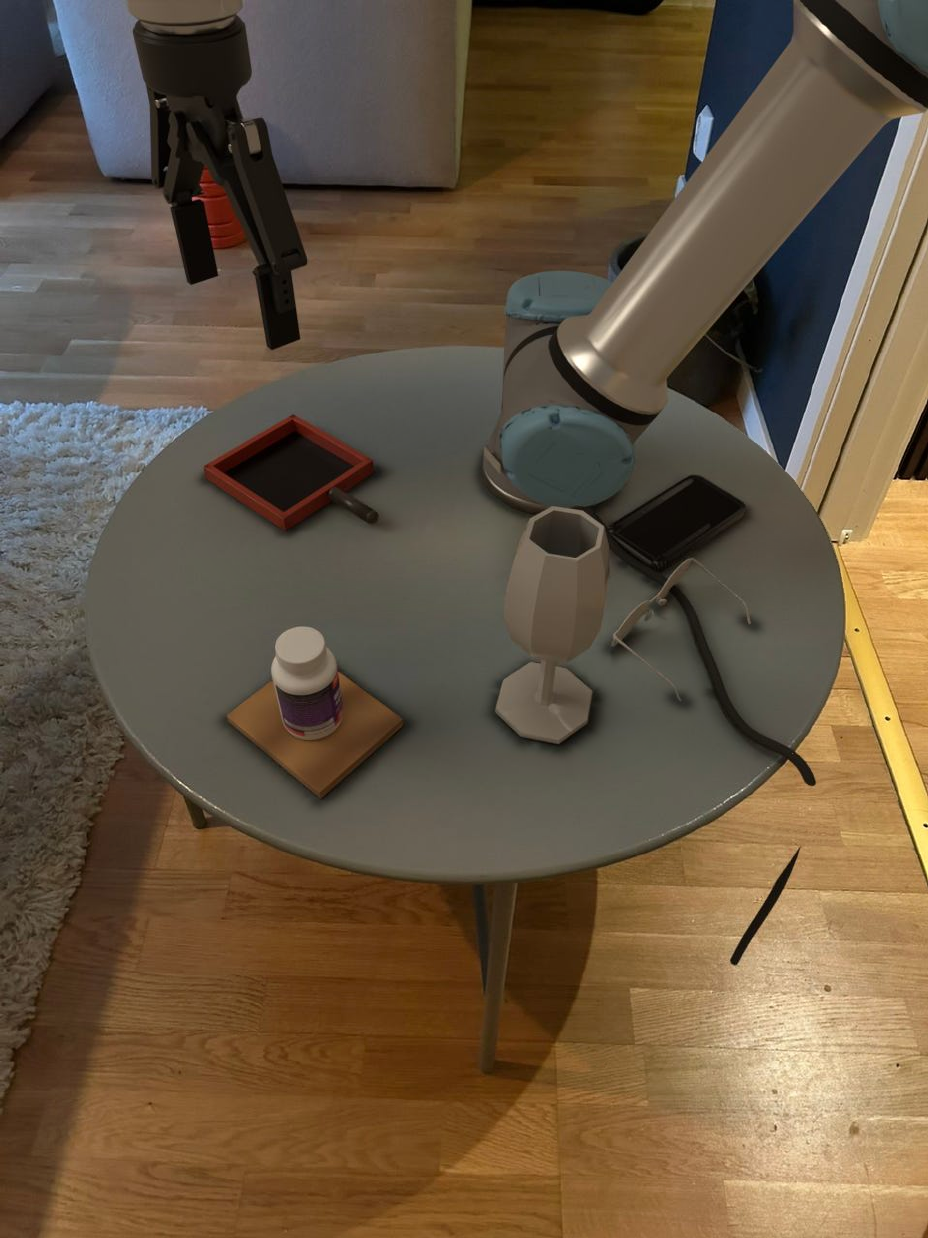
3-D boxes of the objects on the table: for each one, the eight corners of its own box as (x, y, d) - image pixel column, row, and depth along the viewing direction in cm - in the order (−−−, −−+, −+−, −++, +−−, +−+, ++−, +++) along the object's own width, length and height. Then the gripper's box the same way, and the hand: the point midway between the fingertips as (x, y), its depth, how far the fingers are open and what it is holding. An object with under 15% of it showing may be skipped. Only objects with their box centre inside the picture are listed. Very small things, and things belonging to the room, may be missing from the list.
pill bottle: (353, 728, 79) (343, 656, 72) (294, 751, 77) (278, 679, 70) (331, 684, 82) (319, 611, 75) (274, 705, 81) (257, 632, 73)
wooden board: (403, 725, 80) (403, 718, 80) (320, 799, 75) (319, 793, 75) (311, 657, 86) (310, 650, 85) (228, 721, 81) (226, 715, 80)
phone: (604, 528, 97) (694, 471, 103) (602, 536, 97) (692, 479, 104) (660, 568, 93) (751, 506, 99) (658, 575, 93) (748, 514, 100)
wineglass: (563, 761, 78) (591, 590, 63) (477, 717, 81) (483, 544, 66) (608, 693, 83) (643, 520, 68) (525, 654, 86) (541, 480, 71)
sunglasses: (679, 580, 93) (696, 549, 89) (748, 629, 90) (768, 599, 86) (601, 657, 86) (615, 627, 82) (672, 713, 83) (690, 684, 79)
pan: (420, 499, 101) (419, 483, 100) (331, 562, 94) (329, 546, 93) (295, 426, 111) (292, 410, 109) (205, 478, 104) (201, 463, 102)
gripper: (60, -14, 66) (135, 267, 82) (229, 77, 53) (280, 390, 69) (155, -29, 69) (209, 243, 85) (337, 53, 56) (362, 357, 72)
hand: (241, 309), depth 77 cm, fingers open, 13 cm apart
